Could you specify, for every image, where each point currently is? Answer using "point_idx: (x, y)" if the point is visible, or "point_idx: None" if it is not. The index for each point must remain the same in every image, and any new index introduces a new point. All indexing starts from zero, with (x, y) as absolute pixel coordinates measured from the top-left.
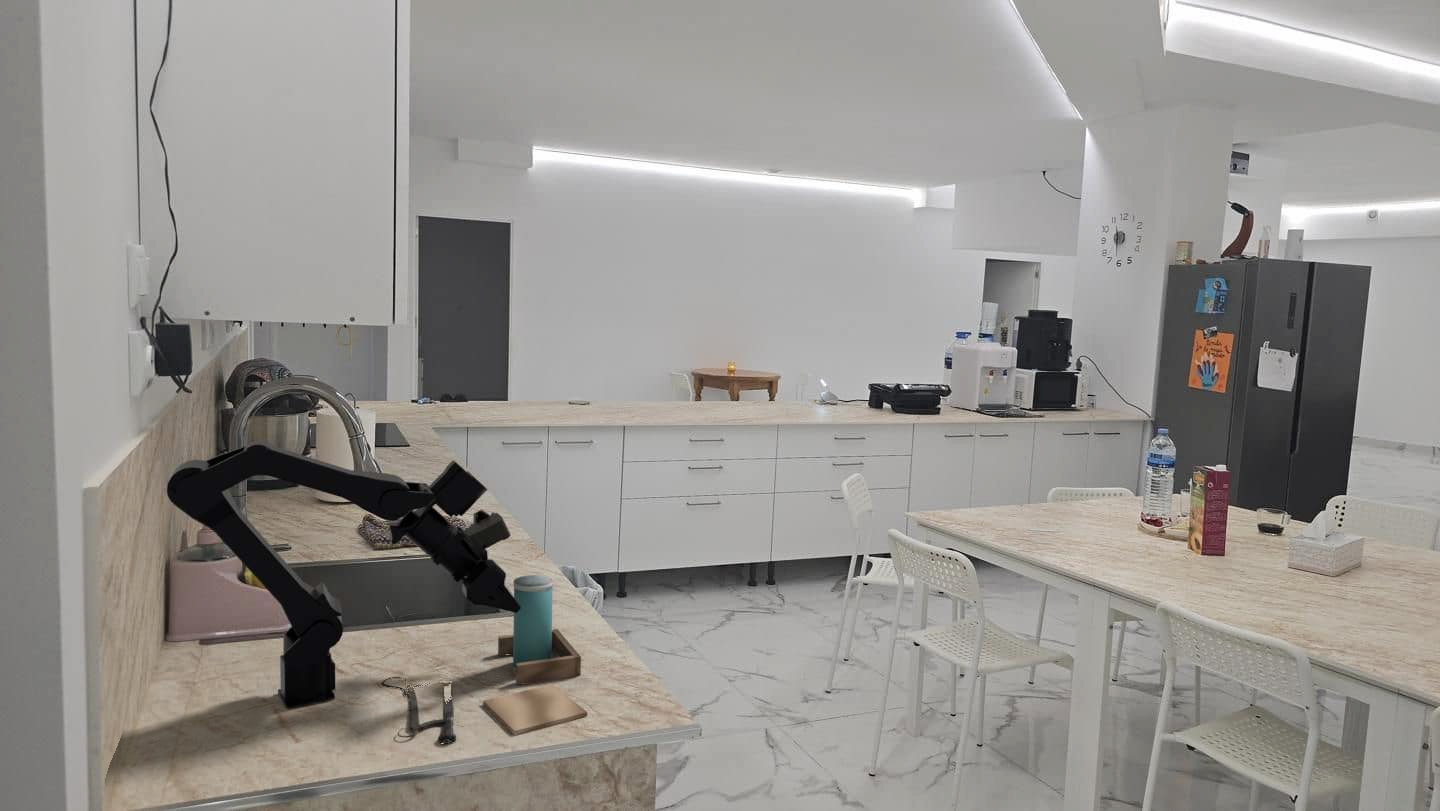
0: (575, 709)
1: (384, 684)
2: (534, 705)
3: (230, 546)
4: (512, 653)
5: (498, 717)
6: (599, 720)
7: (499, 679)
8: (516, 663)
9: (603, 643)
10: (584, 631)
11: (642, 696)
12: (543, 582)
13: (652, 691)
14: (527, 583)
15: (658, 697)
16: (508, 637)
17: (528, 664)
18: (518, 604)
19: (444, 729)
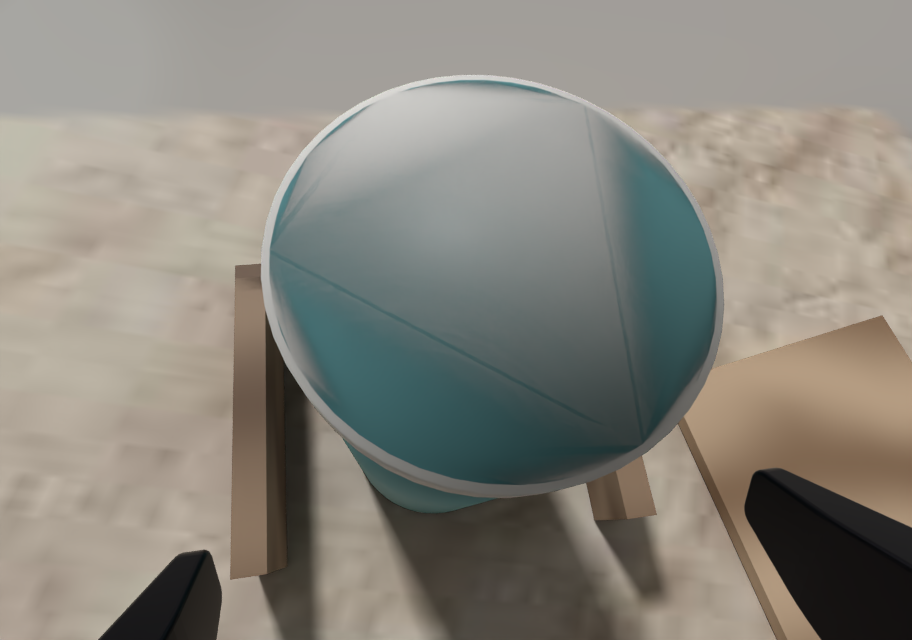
0: (867, 346)
1: None
2: (847, 476)
3: None
4: (284, 499)
5: None
6: (894, 293)
7: (553, 589)
8: (628, 516)
9: (290, 144)
10: (135, 174)
11: (736, 150)
12: (582, 171)
13: (705, 119)
14: (600, 331)
15: (744, 117)
16: (267, 520)
17: (641, 461)
18: (827, 490)
19: None
